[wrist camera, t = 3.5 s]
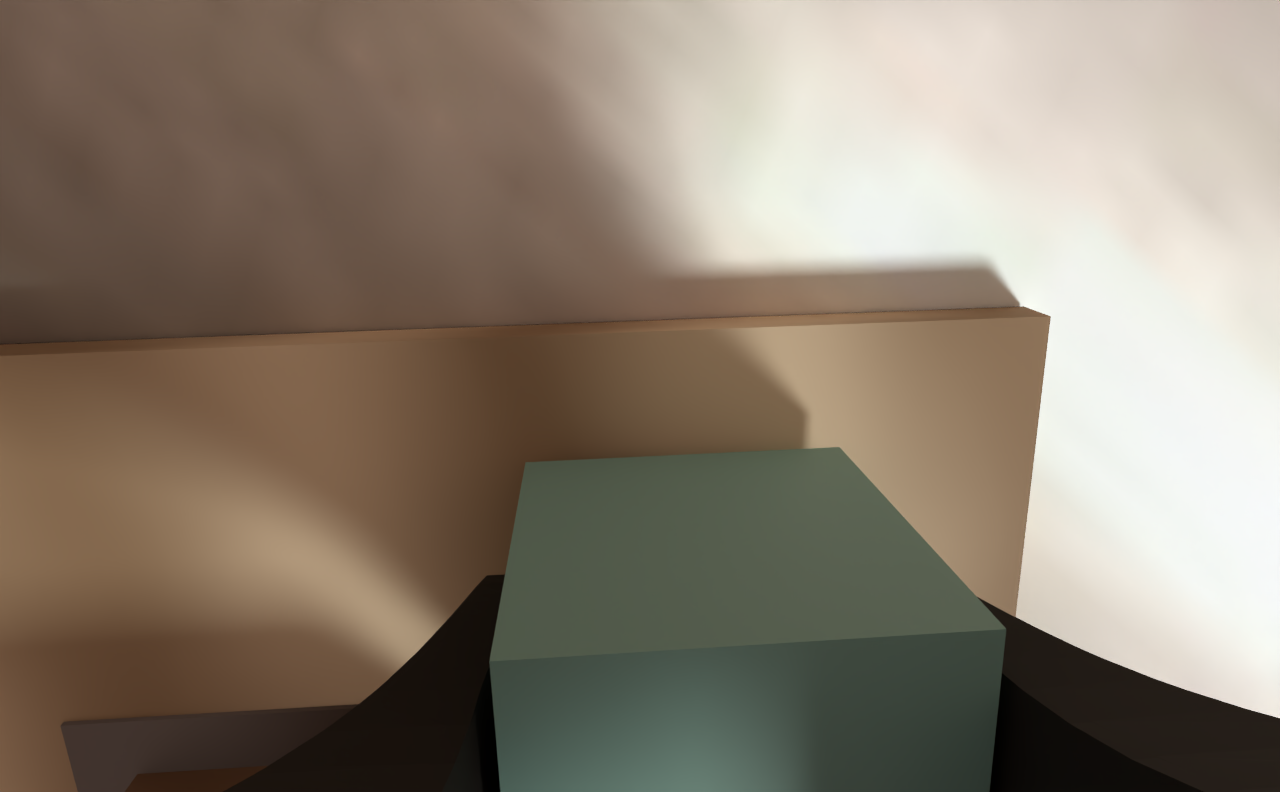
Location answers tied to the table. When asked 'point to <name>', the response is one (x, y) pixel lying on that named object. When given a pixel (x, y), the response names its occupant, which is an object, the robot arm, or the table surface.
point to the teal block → (735, 634)
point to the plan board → (413, 497)
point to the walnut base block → (192, 780)
